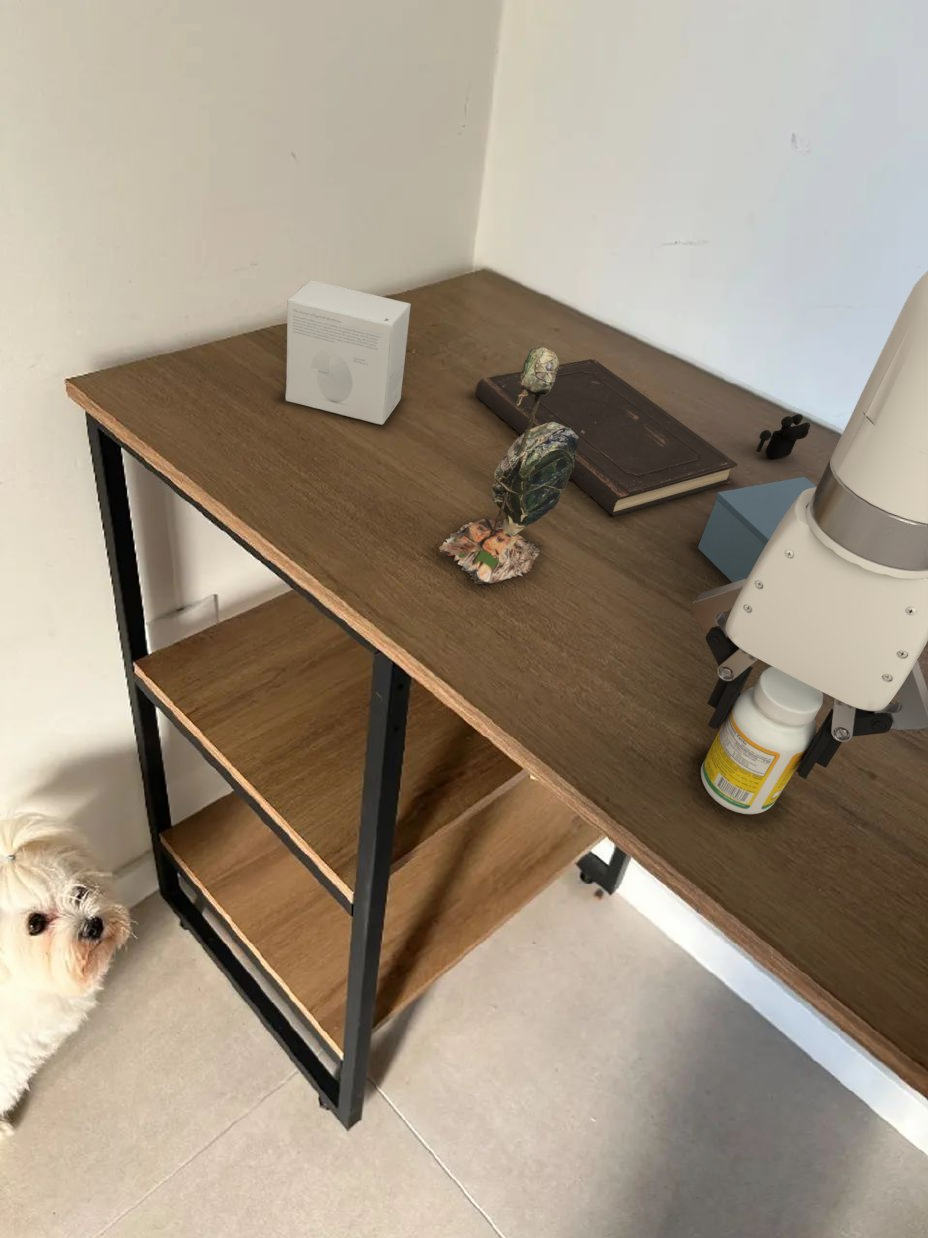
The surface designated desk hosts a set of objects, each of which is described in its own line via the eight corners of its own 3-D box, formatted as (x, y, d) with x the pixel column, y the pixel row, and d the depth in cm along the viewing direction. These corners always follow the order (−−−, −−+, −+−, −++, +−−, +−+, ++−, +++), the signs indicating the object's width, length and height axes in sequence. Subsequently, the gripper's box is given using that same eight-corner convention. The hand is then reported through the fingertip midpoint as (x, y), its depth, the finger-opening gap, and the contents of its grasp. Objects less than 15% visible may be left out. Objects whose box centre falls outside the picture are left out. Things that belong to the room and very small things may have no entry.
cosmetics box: (402, 398, 97) (413, 300, 90) (382, 427, 92) (392, 326, 85) (307, 373, 98) (310, 275, 91) (283, 400, 93) (284, 299, 86)
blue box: (847, 590, 82) (877, 535, 78) (760, 612, 78) (787, 556, 74) (779, 529, 88) (804, 476, 84) (695, 547, 84) (717, 492, 80)
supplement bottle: (711, 816, 61) (764, 719, 55) (689, 753, 65) (736, 655, 59) (787, 817, 62) (848, 722, 56) (761, 754, 66) (815, 659, 60)
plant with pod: (580, 563, 80) (643, 345, 67) (470, 597, 74) (515, 367, 61) (526, 511, 84) (575, 298, 71) (419, 539, 79) (451, 314, 66)
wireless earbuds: (794, 448, 101) (812, 407, 97) (810, 460, 99) (829, 419, 96) (746, 457, 98) (764, 415, 94) (763, 470, 96) (780, 428, 93)
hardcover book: (589, 376, 107) (593, 358, 105) (730, 483, 93) (738, 463, 92) (473, 398, 99) (477, 378, 97) (609, 518, 86) (616, 497, 84)
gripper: (1067, 552, 48) (905, 773, 60) (759, 422, 54) (667, 647, 66) (1048, 624, 43) (876, 849, 55) (711, 472, 49) (621, 706, 61)
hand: (763, 737), depth 60 cm, fingers closed on supplement bottle, 5 cm apart
